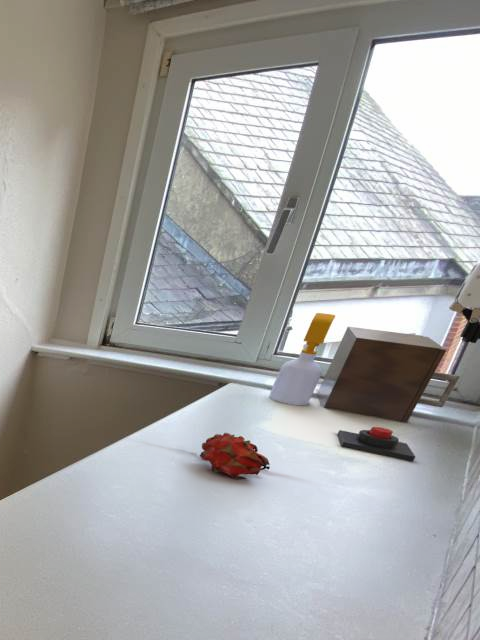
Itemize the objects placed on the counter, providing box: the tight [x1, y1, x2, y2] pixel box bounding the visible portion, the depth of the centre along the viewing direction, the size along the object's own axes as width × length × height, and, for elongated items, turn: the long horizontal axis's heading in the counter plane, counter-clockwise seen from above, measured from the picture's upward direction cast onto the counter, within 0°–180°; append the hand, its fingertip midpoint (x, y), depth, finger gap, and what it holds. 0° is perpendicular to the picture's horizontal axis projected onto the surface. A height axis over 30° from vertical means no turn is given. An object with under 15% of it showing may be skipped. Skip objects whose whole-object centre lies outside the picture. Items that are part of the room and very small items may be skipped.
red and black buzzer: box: [336, 429, 416, 463], centre depth 123 cm, size 12×10×4 cm
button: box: [369, 426, 394, 439], centre depth 122 cm, size 4×4×2 cm
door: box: [401, 336, 461, 424], centre depth 144 cm, size 6×22×20 cm, turn 144°
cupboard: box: [316, 326, 441, 423], centre depth 150 cm, size 16×22×20 cm
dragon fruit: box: [199, 432, 271, 481], centre depth 107 cm, size 8×8×12 cm
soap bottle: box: [268, 312, 336, 406], centre depth 149 cm, size 9×9×25 cm
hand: (468, 341), depth 118 cm, fingers closed
